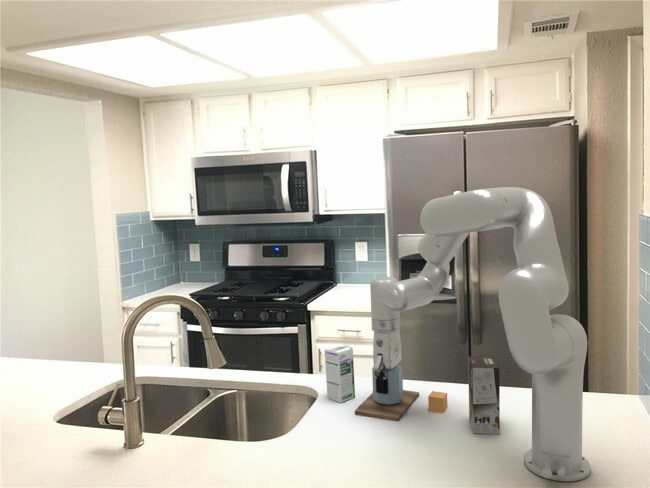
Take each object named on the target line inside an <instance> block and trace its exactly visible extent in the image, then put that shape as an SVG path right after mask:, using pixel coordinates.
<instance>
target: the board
mask: <svg viewBox="0 0 650 488" xmlns="http://www.w3.org/2000/svg"><path fill="white" fill-rule="evenodd" d="M419 396H420V392H419V391H414V390H405V389H403V399H402V400H401V401H400V403H394V404H382V403H377V402H376V401H375V400H374V399H373V392H372V393H371V394H370V395H368V397H367V398H366V399H364V401H363V402H362V403H360V405H359V406H358V407H357V408H356V409H354V415H355V414H356V416H360V417H361V416H363V417H369V418H374V419H382V420H388V421H395V422H400V421H401V419H403V416H404V415H406V413H407V412H408V410H409V409H410V408H411V407H412V406H413V404H414V403H415V402H416V400H417V399H418V398H419Z"/></svg>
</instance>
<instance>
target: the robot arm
mask: <svg viewBox="0 0 650 488" xmlns="http://www.w3.org/2000/svg"><path fill="white" fill-rule="evenodd" d="M419 217H420V218H419V221H420V226H421V228H422V230H423V231H424V232H425V233H424V235H423V236H422V238H421V239H420V241H419V242H418V245H417V250H418V253H419V255H420V256H421V257H422V258H423V259H424V260H425V261H426V263H425V265H424V267H423V268H422V270H421V272H420V273H419V275H418V276H417V277H416V276H415V277H412V278H408V279H403V280H399V281H398V279H397V278H395V277H391V276H379V277H375V278H373V279H371V281H370V288H369V289H370V291H369V292H370V316H371V330H372V331H373V345H372V348H373V349H372V352H373V353H372V354H373V355H372V358H373V366H374V371H375V379H376V392H377V393H381V394H388V379H386V378H387V372H388V369H389V370H391V369H393V368H394V367H395V366H396V365H397V364H400V363H401V361H402V358H403V355H402V352H403V351H402V342H401V332H400V330H401V317H400V316H401V314H400V313H401V312H404V311H409V310H412V309H415V308H418V307H423V306H426V305H428V304H430V303H431V302H433V301H434V300H435V299H436V298H437V297H438V295H439V294H440V293H441V291H442V290H443V288H444V287H445V286H446V283H447V282H448V279H449V276H450V269H451V267H450V262H451V261H452V259H453V258H454V256H455V255H456V253H457V252H458V250H459V249H460V247H461V246H462V245H463V243H464V241H465V240H466V239H467V238H468V235H469V234H471V233H477V232H484V231H490V230H496V229H501V228H508V227H510V228H513V229H514V233H513V251H514V254H515V259H516V265H517V268H515V269H513V270H511V271H509V272H508V273H507V274H505V276H504V277H503V278H502V280H501V282H500V284H499V289H498V304H499V308H500V312H501V318H502V323H503V325H504V327H503V328H504V332H505V336H506V339H507V343H508V347H509V348H508V349H509V351H510V354H511V356H512V359H513V360H514V362H515V363H516V364H517V366H518V367H519V368H520V369H521V370H523V371H524V372H526V373H528V374H532V377H531V448H530V449H529V450H527V451H526V452H525V453H524V455H523V462H524V466H526V468H527V469H528V470H529V471H530V472H532V473H533V474H535V475H537V476H539V477H542V478H545V479H548V480H552V481H558V482H576V481H581V480H583V479H585V478H587V477H588V476H589V475H590V473H591V463H590V461H589V460H588V459H587V458H586V457H585V456H583V398H584V397H583V395H584V393H583V392H584V391H583V390H584V388H583V387H584V372H585V371H584V370H585V364H586V360H587V359H586V358H587V352H588V338H587V334H586V331H585V328H584V327H583V325H582V324H581V323H580V322H579V320H577V319H575V318H574V317H572V316H570V315H567V314H558V313H555V314H551V315H550V310H552V309H555V308H558V307H560V306H561V305H562V304H563V303H565V302H566V300H567V299H568V296H569V292H570V288H569V282H568V280H567V275H566V272H565V266H564V262H563V258H562V253H561V248H560V245H559V243H558V238H557V234H556V229H555V228H556V227H555V223H554V218H553V214H552V210H551V208H550V206H549V204H548V203H547V201H546V200H545V198H543V197H542V196H541V195H540V194H538V192H536V191H533V190H531V189H528V188H524V187H523V188H522V187H518V186H517V187H516V186H515V187H514V186H504V187H503V186H502V187H501V186H500V187H493V188H491V187H490V188H489V187H488V188H480V189H474V190H468V191H464V192H460V193H456V194H451V195H447V196H442V197H437V198H433V199H431V200H428V202H426V204H425V205H424V206H423V207H422V208H421V212H420V215H419ZM381 365H384V366H385V367H381ZM381 370H384V374H383V372H382V371H381Z"/></svg>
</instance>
